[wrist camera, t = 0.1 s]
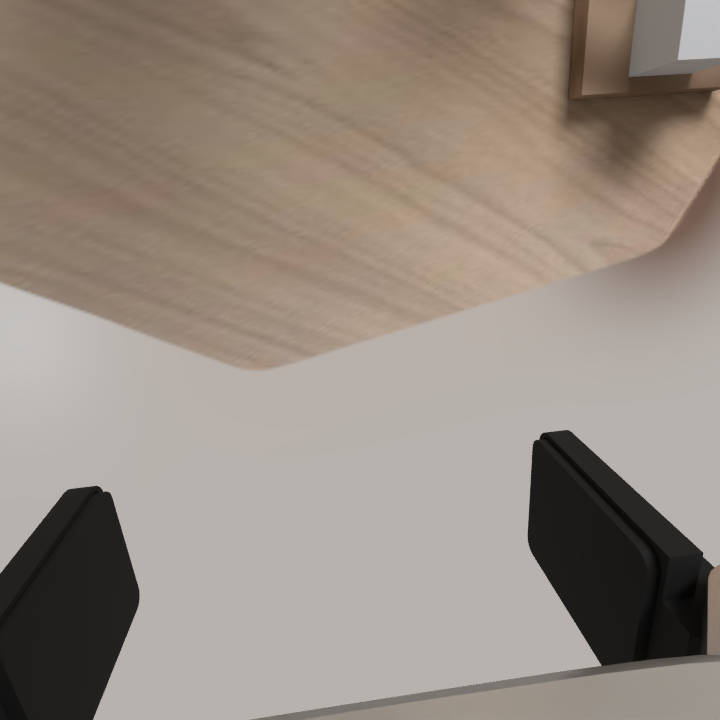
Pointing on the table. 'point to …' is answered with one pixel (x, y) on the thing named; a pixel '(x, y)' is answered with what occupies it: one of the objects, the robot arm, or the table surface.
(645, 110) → the table surface
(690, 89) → the base board
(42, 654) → the robot arm
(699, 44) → the grey block
